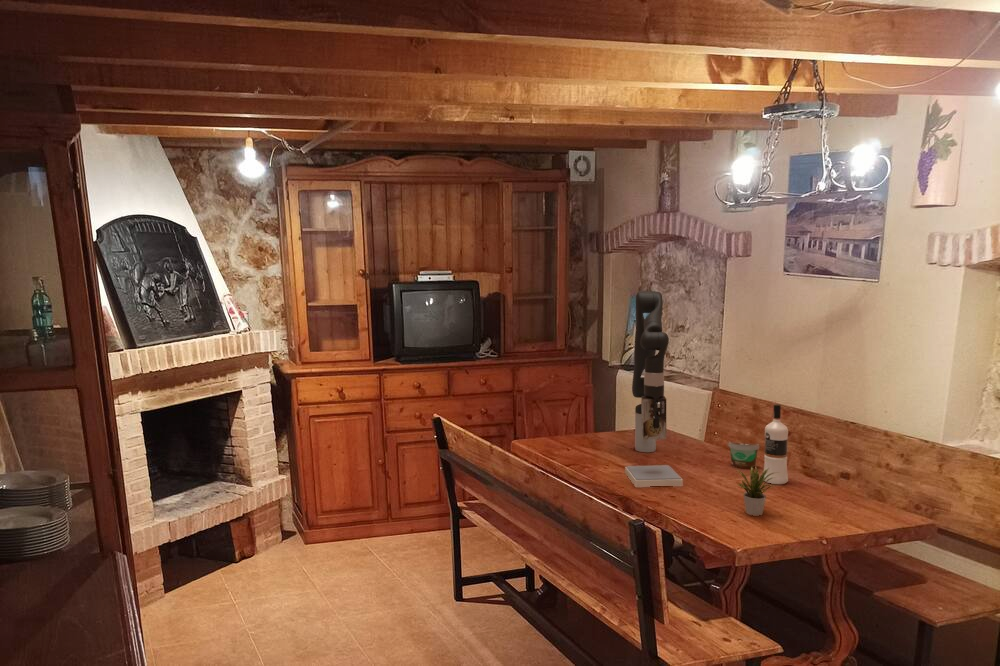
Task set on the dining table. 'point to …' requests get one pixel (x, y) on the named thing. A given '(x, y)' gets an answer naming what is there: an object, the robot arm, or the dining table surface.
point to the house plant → (755, 492)
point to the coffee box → (647, 419)
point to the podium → (653, 476)
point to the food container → (743, 455)
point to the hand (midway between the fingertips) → (653, 425)
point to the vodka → (776, 449)
